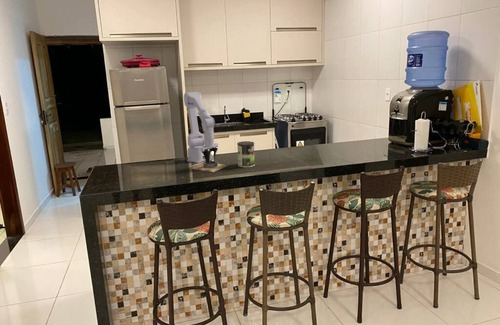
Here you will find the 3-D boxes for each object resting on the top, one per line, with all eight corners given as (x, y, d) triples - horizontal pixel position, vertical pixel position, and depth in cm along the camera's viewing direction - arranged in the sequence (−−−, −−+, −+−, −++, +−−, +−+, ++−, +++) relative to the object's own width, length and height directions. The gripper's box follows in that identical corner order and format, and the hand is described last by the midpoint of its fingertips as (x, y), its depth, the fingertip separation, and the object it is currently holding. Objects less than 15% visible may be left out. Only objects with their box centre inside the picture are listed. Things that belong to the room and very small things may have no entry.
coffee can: (257, 164, 227) (257, 142, 223) (249, 168, 218) (248, 145, 215) (243, 162, 232) (243, 140, 228) (234, 166, 224) (233, 143, 220)
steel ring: (200, 167, 220) (200, 163, 219) (209, 163, 227) (209, 159, 226) (211, 168, 215) (211, 164, 215) (220, 165, 222) (220, 161, 222)
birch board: (189, 168, 221) (188, 166, 221) (203, 162, 233) (203, 161, 233) (212, 172, 212) (212, 170, 212) (226, 166, 223) (226, 164, 223)
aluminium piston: (205, 164, 220) (204, 151, 218) (210, 162, 224) (209, 150, 222) (210, 165, 218) (210, 152, 216) (215, 163, 221) (215, 151, 219)
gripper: (206, 141, 209) (207, 164, 212) (221, 136, 220) (222, 158, 224) (197, 140, 212) (198, 162, 216) (212, 135, 224) (213, 157, 228)
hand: (210, 160), depth 220 cm, fingers closed on aluminium piston, 4 cm apart
